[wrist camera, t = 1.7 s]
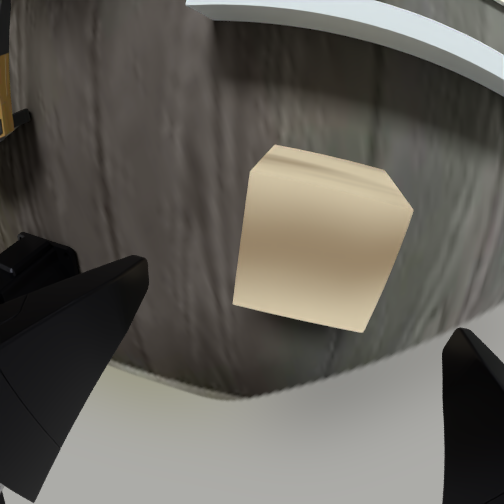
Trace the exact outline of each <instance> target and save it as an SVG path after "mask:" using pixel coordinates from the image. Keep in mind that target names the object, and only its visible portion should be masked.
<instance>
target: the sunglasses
mask: <svg viewBox="0 0 504 504" xmlns="http://www.w3.org/2000/svg"><path fill="white" fill-rule="evenodd" d="M10 11H11V0H0V142H1V141H2V140H3V139H4V138H6V137H7V136H8V135H9V134H10V133H11V132H12V131H14V130H15V129H16V128H17V127H18V126H20V125H22V124H24V123H26V122H29V121H30V120H31V119H30V115H29V112H28V109H23V110H21V111H18V112H16V113H14V114H12V106H11V96H10V94H11V93H10V76H9V26H10Z"/></svg>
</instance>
